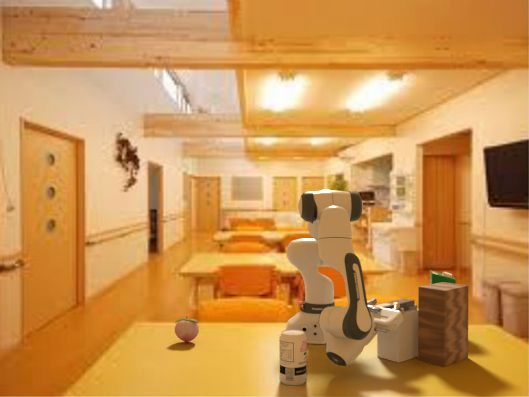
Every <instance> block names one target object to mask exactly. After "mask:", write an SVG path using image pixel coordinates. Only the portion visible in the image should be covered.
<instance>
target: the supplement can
mask: <svg viewBox="0 0 529 397" xmlns="http://www.w3.org/2000/svg"><path fill="white" fill-rule="evenodd" d="M280 334H281V335H279V381H280V382H281V383H282V384H283V385H285V386H286V385H288V386H300V385H303V384H305V382H306V381H307V379H308V378H307V363H308V362H307V360H308V359H307V356H308V354H307V353H308V352H307V351H308V350H307V347H308V346H307V345H308V343H307V337H306V335H305V332H304V331H301V330H286V329H285V330H283V331H281V332H280Z"/></svg>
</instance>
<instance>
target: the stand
mask: <svg viewBox="0 0 529 397" xmlns="http://www.w3.org/2000/svg"><path fill="white" fill-rule="evenodd" d="M417 292H418V293H417V294H418V303H417V308H418V356H417V360H418V361H421V362H425V363H429V364H432V365H436V366H440V367H443V368H445V367H448V366H449V365H453V364H455V363H457V362H460V361H463V360H465V359H469V285H467V284H466V285H465V284H458V283H456V284H453V283H446V282H440V283H435V284H430V283H429V284H426V285H421V286H418V291H417Z"/></svg>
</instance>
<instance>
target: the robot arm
mask: <svg viewBox="0 0 529 397" xmlns="http://www.w3.org/2000/svg"><path fill="white" fill-rule="evenodd" d="M363 203H364V202H363V199H362V196H361V195H360V194H359V193H358V192H357V191H356V192H355V191H351V190H349V191H345V190H335V189H334V190H332V189H328V188H326V189H321V190H316V191H312V190H310V191H305V192H303V193H302V194H301V195H300V198H299V199H298V203H297V210H298V213H299V215H300V218H301V219H302V220H303V221H305V222H308V228H307V229H308V233H309V235H310V237H312V238H309V237H308V238H307V237H306V238H305V237H303V238H297V239H293V240H291V241H290V242H289V243H288V245H287V248H286V252H285V254H286V258H287V260H288V262H289V263H290V264H291V265H292V266H294V267H295V268H296V269H297V271H299V273H300V275H301V276H302V279H303V283H304V292H305V294H304V295H305V299H304V301H302V300H299V301H298V306H299V309H300V311H298V312H296V314H294V315H293V316H292V317H290V318H289V319H288V320H287V323H286V326H285V330H301V331H304V332H305V335H306V337H307V344H309V345H310V344H316V345H325V344H326V345H325V346H326V350H325V353H326V357H327V358H328V359H329V360H330V361H331V362H332V363H333V364H335V365H337V366H342V367H348V366H349V365H350V364H352V363H353V362H355V360H356V359H357V358H358V357H359V356H360V355H361V353H362V352H363V351H364V348H365V347H366V346H368V345H369V344H370V343H371V341H372V340H373V339H374V338H375V337H376V336H377V333H378V332H383V333H388V332H392V331H394V330H395V329H396V328H398V327H399V326H400V325H401V324H402V323H403V321H404V318H403V315H402V313H401V311H398V308H399V307H400V304H399V303H398V302H394V303H393V307H394V308H392V309H387V308H382V307H381V308H382V309H381V310H380V311H379V312H378V313H372V312H370V311H369V308H368V307H369V306H373V305H377V303H378V301H377V298H375V297H372V298H370V299H369V300H367V293H366V287H365V280H364V274H363V268H362V263H361V260H360V258H359V257H358V256H357V255H356V252H355V250H354V245H353V234H352V233H353V232H352V225H351V223H353V222H356V221H359V220H360V219H361V217H362V214H363V211H364V210H363V209H364V204H363ZM319 267H330V268H332V269H334V270H335V271H337V272H339V273H340V274H341V276H342V278H343V280H344V287H345V293H346V294H345V295H346V299H347V300H346V301H347V306H345V305H344V306H343V305H342V306H341V305H339V306H338V305H337V306H336V302H335V298H334V297H335V290H334V289H335V285H334V282H333V280H332V279H331V278H330V277H328V276H327V275H325V274H322V273H321V272H320V271H319ZM280 335H281V333H280ZM280 335H279V336H280Z"/></svg>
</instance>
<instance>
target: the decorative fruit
mask: <svg viewBox="0 0 529 397" xmlns="http://www.w3.org/2000/svg"><path fill="white" fill-rule="evenodd" d="M174 323H175V326H174V334H175V335H176V337H177V338H178V339H179V340H181V341H182V342H185V343H190V342H191V341H193V340H194V339H196V338H197V337H198V334H199V332H200V330H199V328H200V326H199V322H198V321H197V319H196V318H195V319H194V318H188V316H186V317H185V318H179V319H177V320H175V321H174Z"/></svg>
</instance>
